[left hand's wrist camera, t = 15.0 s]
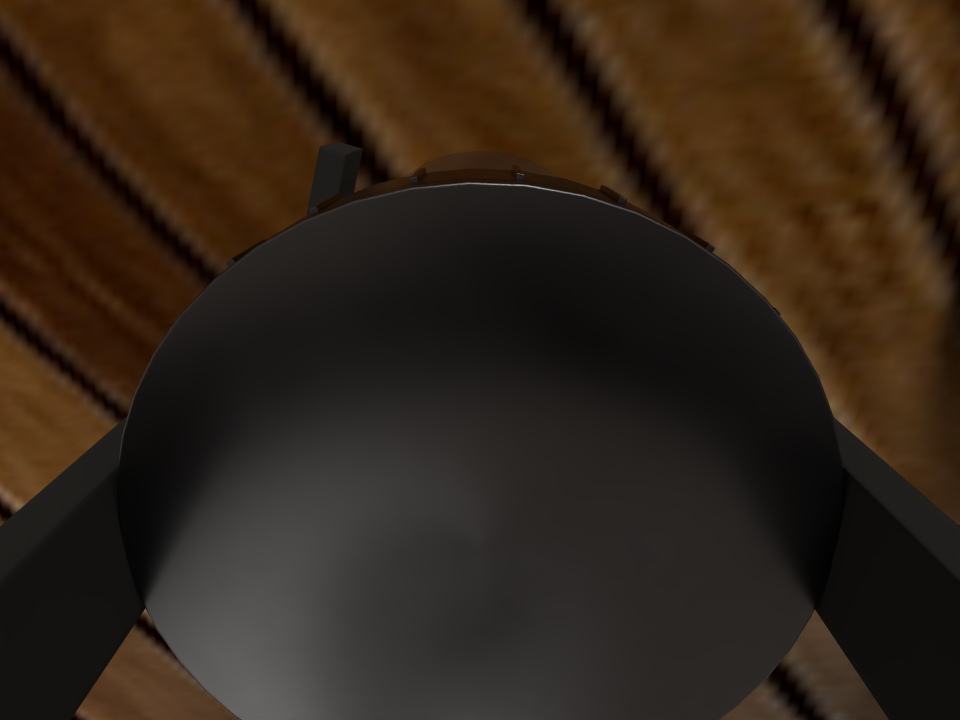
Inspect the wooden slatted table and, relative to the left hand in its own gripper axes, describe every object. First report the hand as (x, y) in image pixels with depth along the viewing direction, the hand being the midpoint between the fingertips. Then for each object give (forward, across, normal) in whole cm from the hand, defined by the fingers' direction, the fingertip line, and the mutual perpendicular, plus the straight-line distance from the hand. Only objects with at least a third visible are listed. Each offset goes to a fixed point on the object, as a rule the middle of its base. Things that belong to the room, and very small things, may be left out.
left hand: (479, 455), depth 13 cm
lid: (-3, 0, 0) cm, 3 cm away
